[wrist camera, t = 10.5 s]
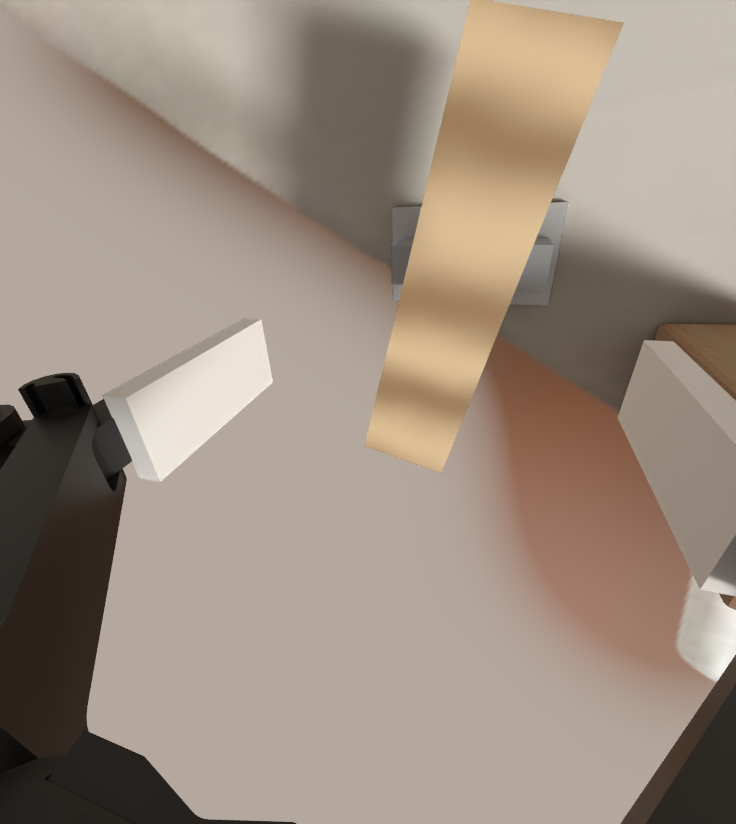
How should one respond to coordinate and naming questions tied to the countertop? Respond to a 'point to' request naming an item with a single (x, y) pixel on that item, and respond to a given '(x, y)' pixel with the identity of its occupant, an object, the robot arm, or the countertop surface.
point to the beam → (482, 212)
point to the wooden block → (708, 361)
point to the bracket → (537, 269)
